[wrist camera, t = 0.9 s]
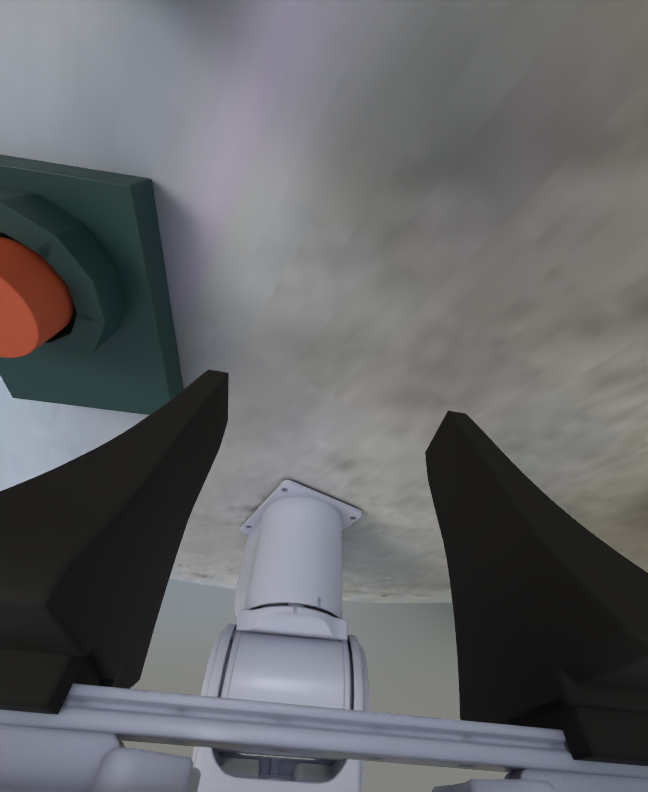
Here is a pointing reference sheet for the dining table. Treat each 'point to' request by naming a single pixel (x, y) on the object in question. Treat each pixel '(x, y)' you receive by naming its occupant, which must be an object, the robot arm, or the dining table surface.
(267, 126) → the dining table surface
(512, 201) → the dining table surface
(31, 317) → the push button
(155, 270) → the green button base
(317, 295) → the dining table surface
